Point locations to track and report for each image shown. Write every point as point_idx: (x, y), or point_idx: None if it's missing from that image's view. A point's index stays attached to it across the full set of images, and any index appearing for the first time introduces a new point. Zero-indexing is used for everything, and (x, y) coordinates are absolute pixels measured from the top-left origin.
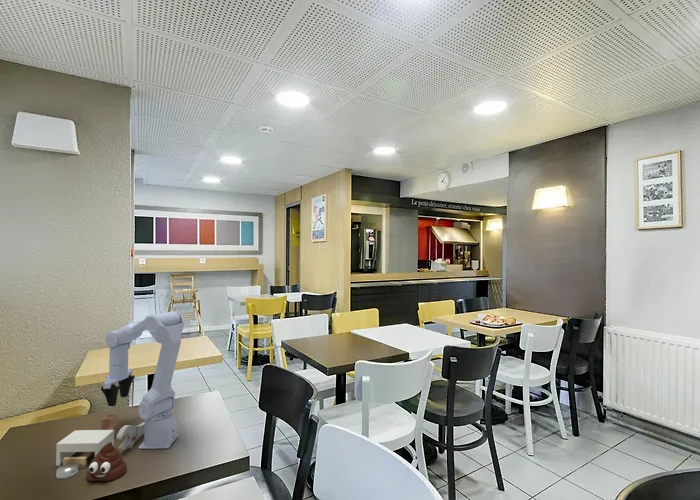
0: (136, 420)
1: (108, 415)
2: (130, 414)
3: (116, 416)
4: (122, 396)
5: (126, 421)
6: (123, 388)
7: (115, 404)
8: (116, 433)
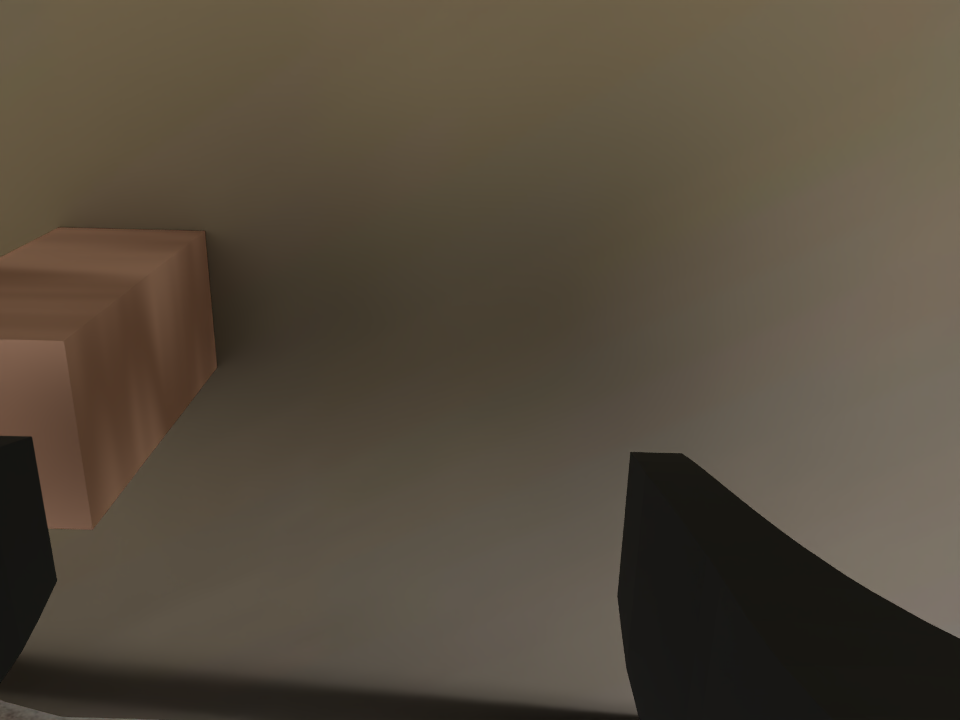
0: (673, 427)
1: (44, 373)
2: (931, 230)
3: (81, 515)
4: (632, 503)
5: (656, 293)
6: (698, 690)
7: (30, 604)
8: (202, 376)
